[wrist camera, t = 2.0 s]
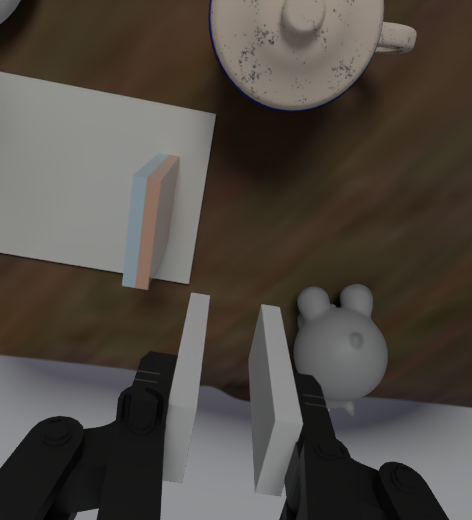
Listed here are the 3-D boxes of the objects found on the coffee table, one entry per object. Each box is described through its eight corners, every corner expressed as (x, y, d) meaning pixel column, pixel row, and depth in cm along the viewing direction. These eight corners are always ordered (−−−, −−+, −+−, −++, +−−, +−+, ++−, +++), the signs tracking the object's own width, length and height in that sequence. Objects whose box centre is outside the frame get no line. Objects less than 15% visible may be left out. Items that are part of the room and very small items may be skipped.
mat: (216, 113, 32) (216, 114, 32) (189, 281, 37) (188, 283, 37) (-32, 65, 31) (-36, 65, 30) (-25, 246, 36) (-28, 248, 36)
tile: (179, 156, 33) (161, 180, 25) (168, 241, 35) (147, 289, 27) (158, 152, 33) (132, 175, 24) (148, 238, 35) (122, 285, 27)
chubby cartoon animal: (282, 357, 44) (288, 442, 37) (293, 275, 35) (303, 367, 29) (353, 358, 43) (371, 443, 37) (381, 276, 35) (410, 368, 29)
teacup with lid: (210, 98, 32) (197, 105, 21) (221, -49, 28) (213, -130, 18) (370, 116, 32) (438, 131, 22) (399, -26, 29) (498, -92, 18)
